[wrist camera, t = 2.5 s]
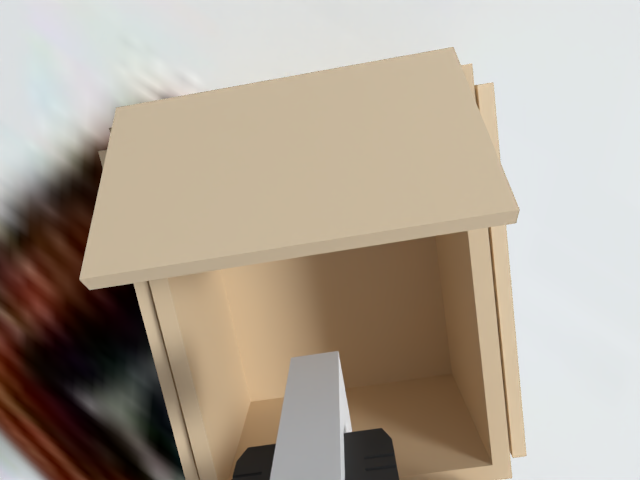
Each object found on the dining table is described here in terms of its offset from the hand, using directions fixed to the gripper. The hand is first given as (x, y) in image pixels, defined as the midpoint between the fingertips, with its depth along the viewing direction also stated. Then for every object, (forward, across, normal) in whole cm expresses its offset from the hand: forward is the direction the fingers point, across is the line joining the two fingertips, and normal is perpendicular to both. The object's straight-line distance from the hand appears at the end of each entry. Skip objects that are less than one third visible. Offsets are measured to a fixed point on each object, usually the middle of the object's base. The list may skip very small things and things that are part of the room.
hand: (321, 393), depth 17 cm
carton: (+15, 0, 0) cm, 15 cm away
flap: (+5, 0, +10) cm, 11 cm away
